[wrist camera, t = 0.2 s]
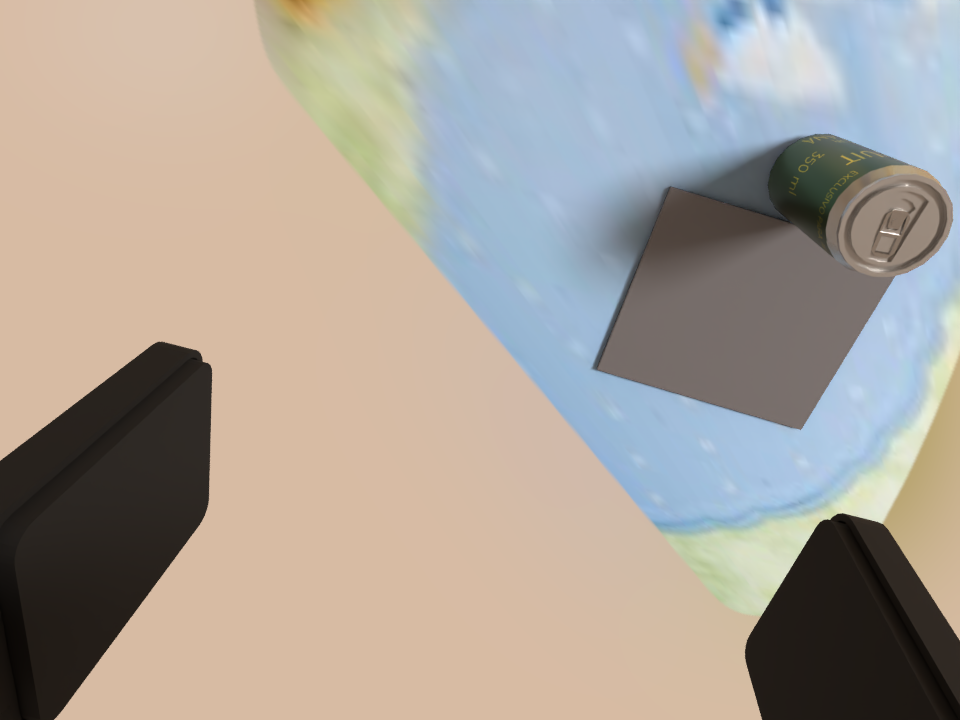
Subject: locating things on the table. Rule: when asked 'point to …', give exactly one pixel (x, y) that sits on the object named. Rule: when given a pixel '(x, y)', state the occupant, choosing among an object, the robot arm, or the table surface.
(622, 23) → the table surface
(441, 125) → the table surface
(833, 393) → the table surface
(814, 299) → the mat
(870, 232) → the green soda can
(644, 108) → the table surface
